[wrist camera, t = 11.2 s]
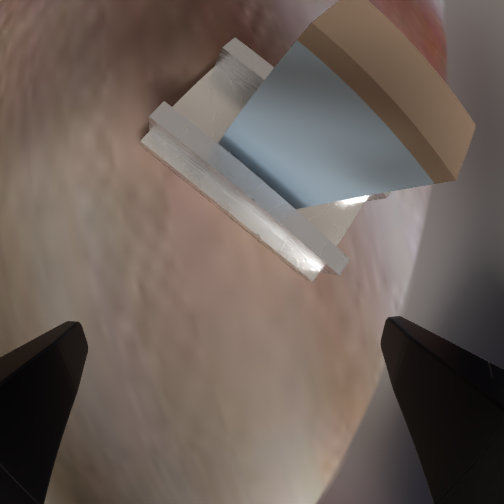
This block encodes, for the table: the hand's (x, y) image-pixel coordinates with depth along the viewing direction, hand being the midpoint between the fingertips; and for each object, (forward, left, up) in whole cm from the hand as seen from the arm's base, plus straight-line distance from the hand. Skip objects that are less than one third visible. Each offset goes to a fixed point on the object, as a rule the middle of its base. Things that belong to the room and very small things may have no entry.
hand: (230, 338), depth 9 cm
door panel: (+9, +2, -11) cm, 14 cm away
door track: (+9, +2, -12) cm, 15 cm away
